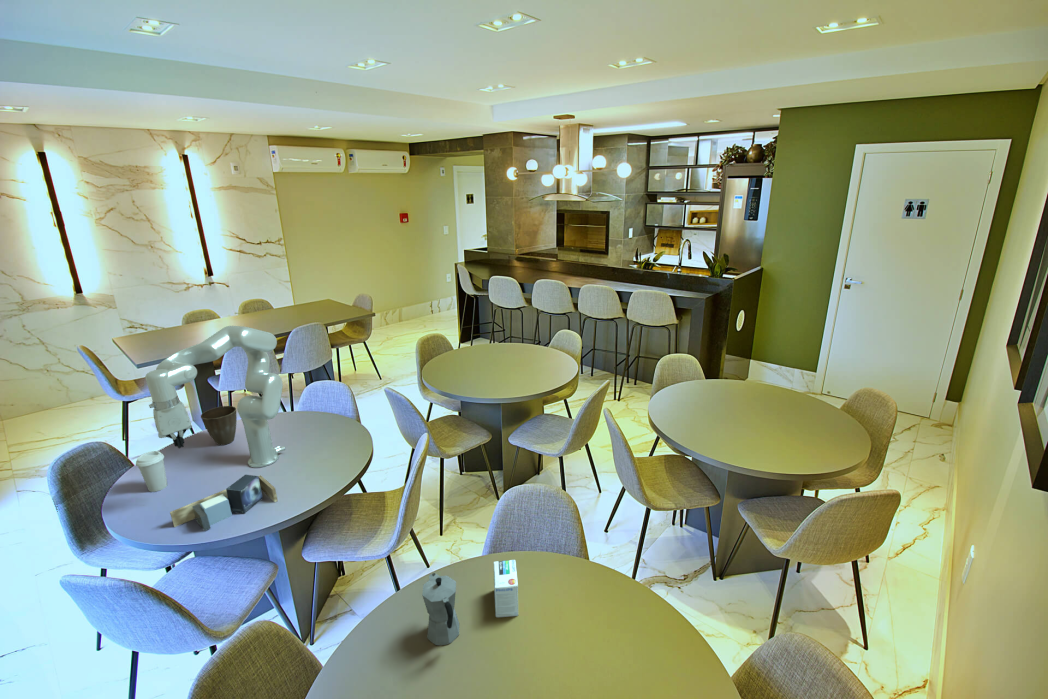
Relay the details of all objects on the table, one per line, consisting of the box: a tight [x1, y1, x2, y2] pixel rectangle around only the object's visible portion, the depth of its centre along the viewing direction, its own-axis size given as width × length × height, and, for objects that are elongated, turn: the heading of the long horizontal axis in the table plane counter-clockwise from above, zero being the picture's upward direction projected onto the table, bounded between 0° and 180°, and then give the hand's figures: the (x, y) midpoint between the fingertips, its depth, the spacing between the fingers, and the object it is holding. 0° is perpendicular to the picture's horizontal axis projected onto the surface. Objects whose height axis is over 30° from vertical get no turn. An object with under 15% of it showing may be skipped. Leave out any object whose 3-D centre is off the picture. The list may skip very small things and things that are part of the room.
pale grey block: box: [200, 494, 233, 527], centre depth 187 cm, size 8×6×8 cm
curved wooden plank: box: [169, 474, 278, 528], centre depth 190 cm, size 32×14×6 cm, turn 138°
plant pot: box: [200, 405, 238, 446], centre depth 244 cm, size 15×15×16 cm
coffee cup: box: [135, 450, 168, 493], centre depth 207 cm, size 10×10×15 cm
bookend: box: [192, 504, 211, 532], centre depth 184 cm, size 2×10×6 cm, turn 48°
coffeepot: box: [421, 572, 460, 646], centre depth 134 cm, size 15×9×18 cm, turn 28°
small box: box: [225, 474, 264, 515], centre depth 194 cm, size 11×6×10 cm, turn 168°
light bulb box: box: [493, 559, 519, 618], centre depth 145 cm, size 11×7×11 cm, turn 5°
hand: (180, 446), depth 189 cm, fingers closed
